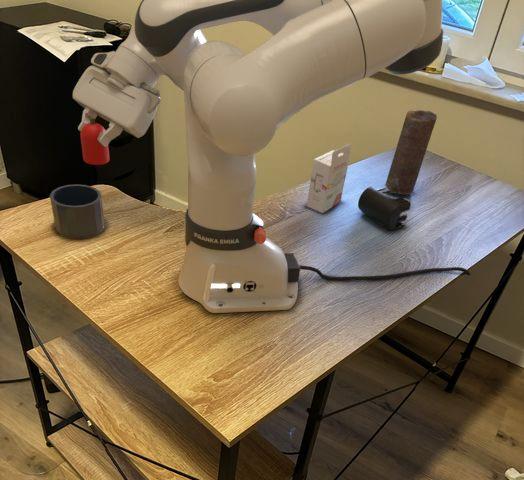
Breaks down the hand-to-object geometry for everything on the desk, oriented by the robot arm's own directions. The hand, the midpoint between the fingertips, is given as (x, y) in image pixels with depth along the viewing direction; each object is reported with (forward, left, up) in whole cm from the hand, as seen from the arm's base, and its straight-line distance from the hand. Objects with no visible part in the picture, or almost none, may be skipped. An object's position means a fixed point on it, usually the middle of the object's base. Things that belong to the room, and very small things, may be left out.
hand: (91, 138), depth 102 cm
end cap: (-63, -9, -17) cm, 66 cm away
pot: (+3, +5, -17) cm, 18 cm away
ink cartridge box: (-50, -15, -17) cm, 55 cm away
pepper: (0, 0, -4) cm, 4 cm away
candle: (-71, -26, -17) cm, 78 cm away
